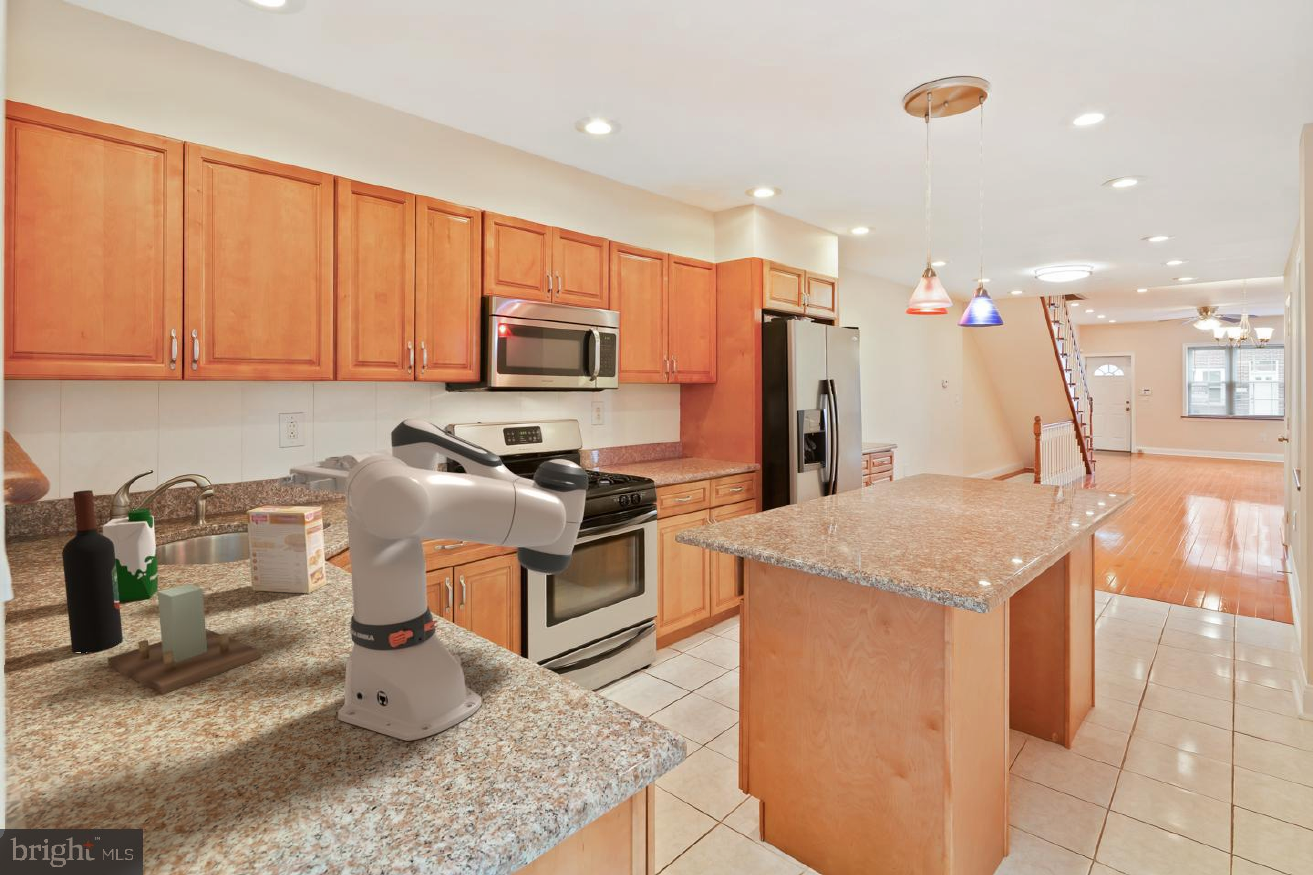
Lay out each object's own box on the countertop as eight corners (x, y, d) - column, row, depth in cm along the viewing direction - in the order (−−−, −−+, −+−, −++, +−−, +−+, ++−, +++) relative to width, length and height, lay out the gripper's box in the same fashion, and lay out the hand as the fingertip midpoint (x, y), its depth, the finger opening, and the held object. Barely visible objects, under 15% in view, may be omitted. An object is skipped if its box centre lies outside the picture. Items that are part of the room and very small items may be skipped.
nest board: (261, 657, 125) (259, 634, 124) (162, 694, 111) (160, 668, 111) (205, 635, 135) (203, 613, 134) (108, 666, 121) (106, 642, 121)
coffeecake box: (327, 584, 165) (323, 506, 163) (308, 594, 158) (303, 512, 156) (271, 581, 168) (266, 504, 165) (250, 591, 161) (245, 510, 158)
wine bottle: (64, 648, 129) (48, 493, 125) (111, 634, 135) (97, 486, 132) (83, 656, 125) (67, 497, 122) (130, 641, 132) (116, 490, 128)
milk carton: (154, 599, 155) (146, 513, 153) (104, 605, 151) (96, 517, 149) (163, 587, 163) (156, 506, 161) (116, 593, 159) (108, 509, 157)
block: (207, 651, 124) (202, 588, 122) (176, 662, 119) (171, 596, 118) (193, 645, 126) (188, 583, 125) (163, 655, 122) (157, 591, 121)
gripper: (388, 493, 141) (326, 505, 130) (328, 484, 152) (266, 494, 140) (387, 463, 141) (324, 473, 129) (327, 456, 151) (264, 464, 139)
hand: (294, 484), depth 135 cm, fingers open, 8 cm apart
